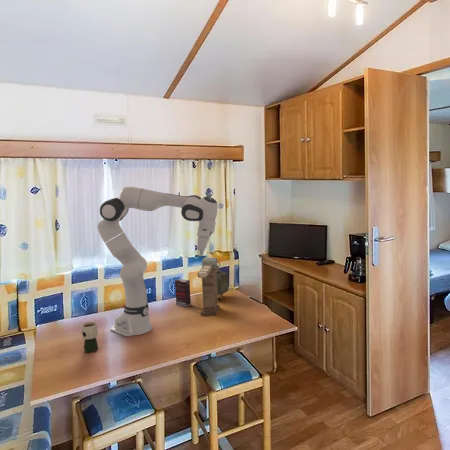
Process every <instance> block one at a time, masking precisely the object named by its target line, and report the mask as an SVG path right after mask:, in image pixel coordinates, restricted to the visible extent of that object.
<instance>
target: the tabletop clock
mask: <svg viewBox="0 0 450 450" xmlns="http://www.w3.org/2000/svg"><path fill="white" fill-rule="evenodd" d="M217 264H219V265H217V266H218V270H217V272H216V281H217V300H221V299H222V298H221V297H222V296H223V295H224V294H226V293H228V291H229V287H230V282H229V275H228V273H227V272H225V271H222V270H220V266H221V263H220V261H217Z"/></svg>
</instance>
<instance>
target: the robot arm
mask: <svg viewBox="0 0 450 450" xmlns="http://www.w3.org/2000/svg"><path fill="white" fill-rule="evenodd" d="M167 206H169V207H175V208H179V209H180V208H181V210H180V213H181V216H182V218H183V219H184V220H186V221H188V222H197V223H198V224H197V233H196V235H197V243H196V244H197V246H196V247H197V248H196V249H197V251H199V256H200V257H203V256H204V252H205V251H206V248H207V245H208V242H209V240H210V238H211V236H212V234H214V233H215V229H216V224H217V223H216V219H217V215H218V202H217V200H216V199H215V198H213V197H210V196H203V197H201V196H199V195H196V194H192V195H186V196H185V195H179V194H172V193H167V192H162V191H155V190H153V189H152V190H151V189H147V188H143V187H136V186H124V187H123V188H122V189H121V191H120V192H119V196H118V197H113V198H110V199H107V200H105V201H103V203H102V204H101V205H100V206H99V215H100V216H101V218H102V219H101V220H100V221H99V222H98V223H97V226H96V227H97V230H98V233H99V235H100V238H101V239H102V241H103V243H105V246H106V247H107V249H108V250H109V252H110V253H111V255H112V256H113V257H114V258H116V259H117V261H118V262H119V263H120V264H121V265H122V266H121V268H120V271H119V272H120V273H119V275H120V279H121V281H122V285H123V289H124V295H125V305H122V309H123V311H122V312H121V313H120V314H119V315H118V316H116V317H115V320H114V325H112V326H111V327H110V331H111V332H113V331H114V332H113V333H117V334H119V335H121V336H123V337H131V336H139V335H143V334H144V335H145V334H147V333H149V332H150V331H152V329H153V326H152V324H151V320H150V314H149V303H148V296H147V287H146V284H145V280H144V279H145V278H144V274H145V273H146V271H147V268H148V267H147V266H148V263H147V260H146V258H144V257H143V255H141V254H140V252H139V251H138V250H137V249H136V248H135V247H134V246H133V244H132V242H131V241H130V240H129V238H128V237H127V234H126V233H125V232H124V230H123V228H122V227H121V224H120V222H121V221H122V220H123V219H124V218H125V217H126V215H128V212H129V209H135V210H140V211H144V212H145V211H146V212H153V211H156V210H158V209H159V208H162V207H167Z"/></svg>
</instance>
